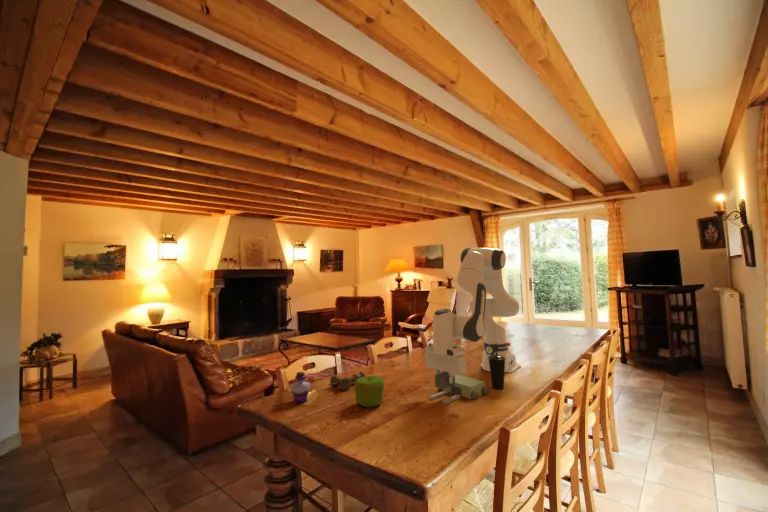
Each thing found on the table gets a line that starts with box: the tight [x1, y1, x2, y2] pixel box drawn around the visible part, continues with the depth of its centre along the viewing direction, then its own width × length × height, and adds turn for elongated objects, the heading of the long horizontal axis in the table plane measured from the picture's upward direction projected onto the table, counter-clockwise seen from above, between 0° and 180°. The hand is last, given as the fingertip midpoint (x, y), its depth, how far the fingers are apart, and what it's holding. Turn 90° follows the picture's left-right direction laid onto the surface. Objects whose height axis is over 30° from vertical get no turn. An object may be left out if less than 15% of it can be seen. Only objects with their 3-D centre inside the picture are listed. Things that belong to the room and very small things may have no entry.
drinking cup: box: [488, 343, 506, 391], centre depth 156 cm, size 8×8×20 cm
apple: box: [353, 375, 385, 408], centre depth 140 cm, size 12×12×11 cm
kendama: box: [328, 371, 366, 392], centre depth 164 cm, size 6×10×20 cm
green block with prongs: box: [429, 374, 490, 405], centre depth 149 cm, size 22×19×5 cm
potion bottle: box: [290, 371, 311, 405], centre depth 146 cm, size 9×9×12 cm
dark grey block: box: [434, 371, 455, 390], centre depth 145 cm, size 8×4×6 cm, turn 130°
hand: (444, 381), depth 145 cm, fingers closed on dark grey block, 4 cm apart
